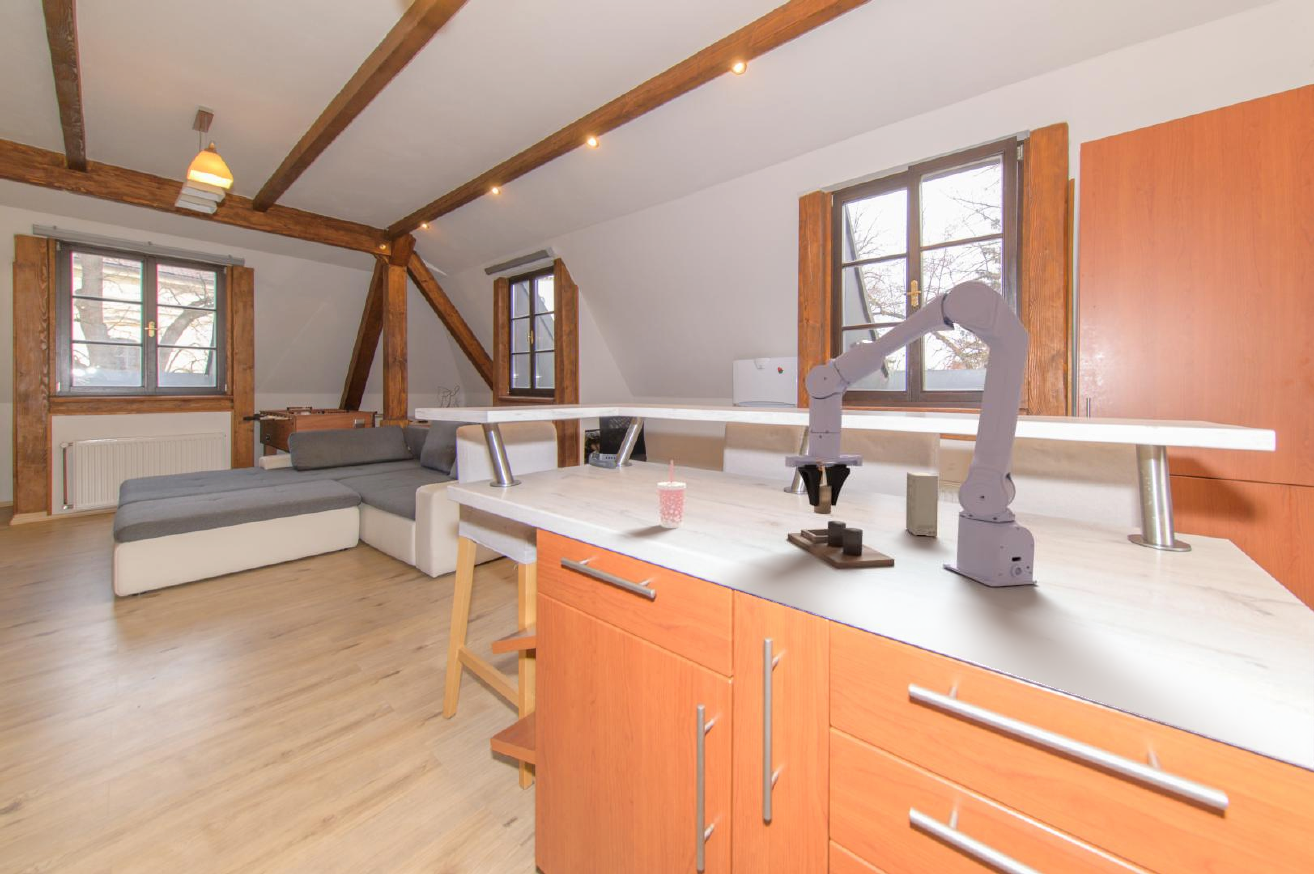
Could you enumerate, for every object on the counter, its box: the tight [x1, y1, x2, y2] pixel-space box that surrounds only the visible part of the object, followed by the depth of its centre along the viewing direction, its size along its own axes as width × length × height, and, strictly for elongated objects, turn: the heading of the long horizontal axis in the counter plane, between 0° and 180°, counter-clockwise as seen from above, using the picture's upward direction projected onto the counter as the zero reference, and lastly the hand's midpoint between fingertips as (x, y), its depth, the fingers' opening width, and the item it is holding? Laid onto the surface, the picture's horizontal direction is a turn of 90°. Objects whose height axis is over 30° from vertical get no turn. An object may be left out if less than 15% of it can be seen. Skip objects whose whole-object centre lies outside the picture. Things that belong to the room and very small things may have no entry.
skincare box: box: [905, 471, 939, 537], centre depth 101 cm, size 6×4×12 cm
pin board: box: [787, 520, 895, 569], centre depth 88 cm, size 18×10×5 cm, turn 11°
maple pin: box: [813, 484, 832, 515], centre depth 93 cm, size 3×3×5 cm
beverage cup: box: [656, 459, 687, 529], centre depth 106 cm, size 6×6×14 cm
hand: (822, 505), depth 93 cm, fingers closed on maple pin, 3 cm apart
